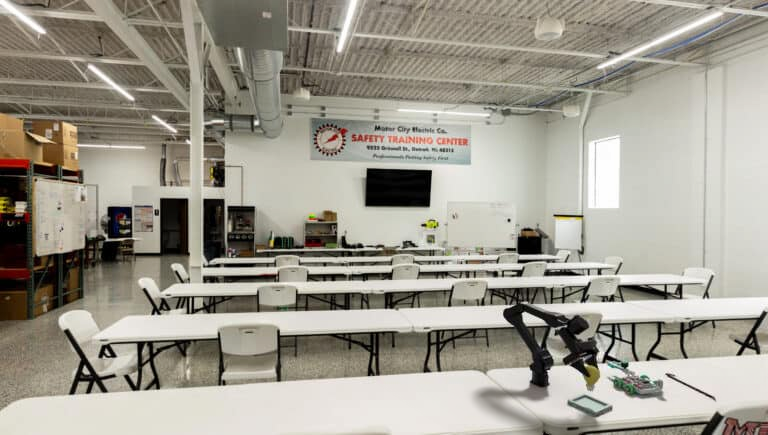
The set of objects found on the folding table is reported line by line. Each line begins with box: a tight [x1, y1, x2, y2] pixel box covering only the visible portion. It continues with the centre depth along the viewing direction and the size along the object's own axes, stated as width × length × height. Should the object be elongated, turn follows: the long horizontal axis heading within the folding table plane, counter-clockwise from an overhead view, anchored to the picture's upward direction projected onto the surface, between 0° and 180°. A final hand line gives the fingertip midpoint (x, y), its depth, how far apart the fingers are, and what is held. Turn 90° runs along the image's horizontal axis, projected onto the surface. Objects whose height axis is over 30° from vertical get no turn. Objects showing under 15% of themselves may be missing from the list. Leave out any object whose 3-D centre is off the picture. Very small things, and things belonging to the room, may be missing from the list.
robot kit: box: [606, 360, 664, 395], centre depth 190 cm, size 19×25×9 cm
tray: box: [567, 392, 613, 417], centre depth 167 cm, size 12×12×2 cm
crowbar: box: [664, 372, 716, 401], centre depth 189 cm, size 28×1×5 cm
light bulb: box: [581, 365, 601, 392], centre depth 167 cm, size 7×7×10 cm
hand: (594, 375), depth 166 cm, fingers closed on light bulb, 7 cm apart
